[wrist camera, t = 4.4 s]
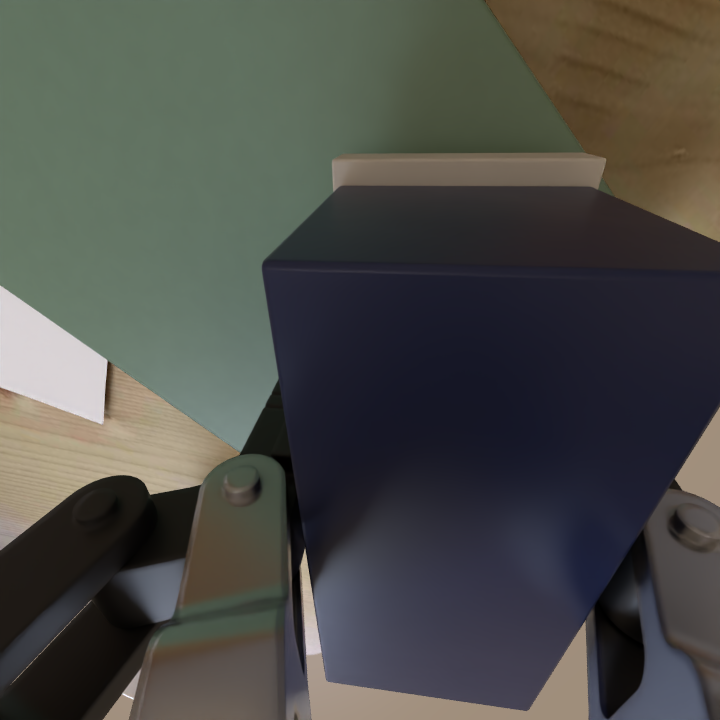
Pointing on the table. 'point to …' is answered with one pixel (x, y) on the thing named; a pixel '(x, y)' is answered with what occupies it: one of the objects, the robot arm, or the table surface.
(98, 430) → the table surface
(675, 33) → the table surface
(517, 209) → the navy block
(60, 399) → the paper
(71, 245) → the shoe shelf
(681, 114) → the table surface
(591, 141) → the table surface
